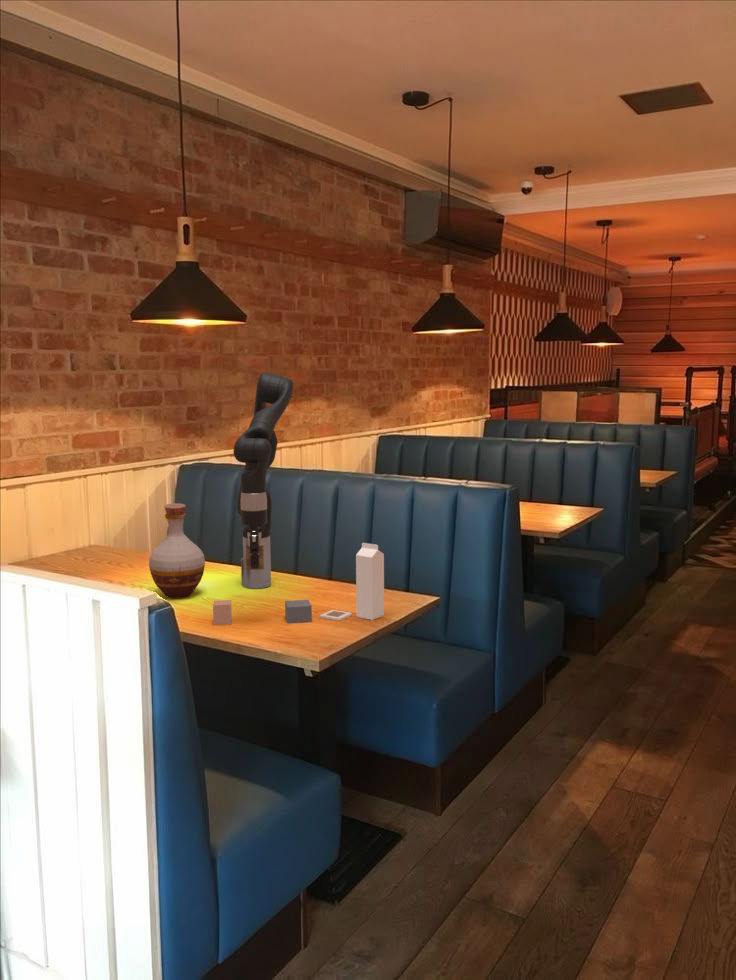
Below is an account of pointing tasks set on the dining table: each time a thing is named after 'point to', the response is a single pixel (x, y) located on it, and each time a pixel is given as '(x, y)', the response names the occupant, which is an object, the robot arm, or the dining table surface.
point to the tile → (335, 615)
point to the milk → (369, 582)
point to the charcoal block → (298, 611)
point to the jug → (176, 558)
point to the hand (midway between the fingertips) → (255, 565)
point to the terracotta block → (222, 612)
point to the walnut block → (261, 558)
